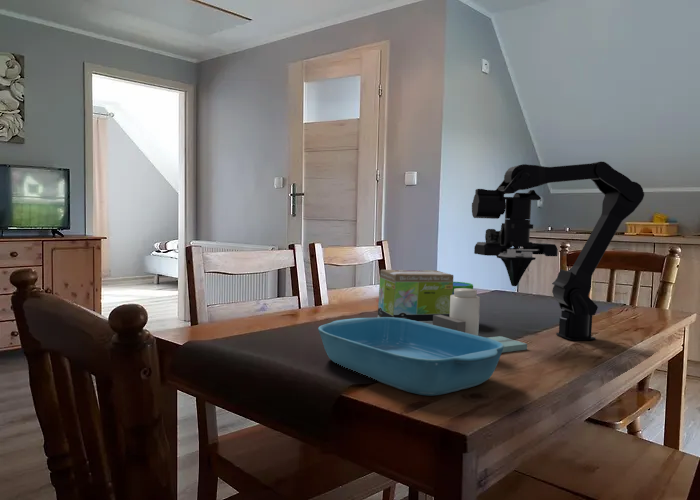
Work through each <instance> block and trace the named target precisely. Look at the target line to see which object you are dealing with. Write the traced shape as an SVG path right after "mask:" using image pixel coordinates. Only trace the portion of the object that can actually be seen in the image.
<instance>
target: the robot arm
mask: <svg viewBox="0 0 700 500" xmlns="http://www.w3.org/2000/svg"><path fill="white" fill-rule="evenodd" d="M503 176H504V177H503V180H502V182H501V183H500V184H499V186H497V188H496V189H486V188H475V194H474V196H473V200H472V202H471V215H472V218H474V219H493V220H498V219H500V218H501V215H503V216H504V223H503V222H502V223H501V225H500V230H496V229H495V228H487V229H486V230H485V234H484V235H485V236H484V238H485V239H484V240H485V241H477V242H476V243H475V245H474V250H473V251H474V252H473V254H475V255H479V256H492V257H495V256H496V258H497V259H500V261H502V263H503V265H504V266H505V269H506V271H507V274H508V275H507V276H508V278H509V281H510V285H511V286H512V287H517V286H518V284H519V283H520V281H521V279H522V277H523V275H524V273H525V272H526V270H527V269H528V267H529V266H530V264H531V263H532V261H536V256H535V257H533V255H544V256H545V257H559V256H558V254H559V253H558V252H559V249H558V247H557V245H556V244H554V243H545V242H544V243H543V242H538V243H537V242H532V241H530V237H531V236H530V234H531V233H530V232H531V230H533V229H534V224H532V223H531V215H532V214H531V213H532V201H541V200H542V197H541V196H540V195H539V194H538V193H537V192H536V190H535V189H532V188H536V187H541V186H543V185H546V184H552V183H562V182H572V181H573V182H574V181H585V180H586V181H587V180H591V181H592V182H593V184H594V185H595V186H596V188H597V189H598V190H599V192H601V194H603V195H604V197H603V200H602V204H601V205H602V206H601V207H602V208H601V215H600V216H599V219H598V220H597V222H596V223H595V226H594V227H593V229H592V231H591V233H590V234H589V237H588V238H587V240H586V242H585V243H584V245H583V248H582V249H581V250H580V253H579V255H578V256H577V258H576V259H575V261H574V264H573V265H572V266H571V267H570V268H568V269H567V270H564V269H559V272H558V274H557V278H556V279H555V280H554V281H553V282H552V285H553V287H552V295H553V297H554V299H555V301H556V302H557V303H558V305H559V309H561V312H560V314H561V315H560V317H559V323H558V324H559V325H558V332H555V335H557V336H559V337H562V338H564V339H567V340H570V341H594V340H595V341H596V337H594V336H592V331H593V329H592V328H593V316H595V315H596V314H597V311H598V309H599V306H598V305H597V304H596V302H594V301H593V300H592V299H591V297H590V296H589V295H590V293H591V289H592V283H593V282H592V280H593V275H594V272H595V271H596V268H598V265H599V264H600V261H601V260H602V258H603V256H604V254H605V253H606V251H607V250H608V248H609V245H610V244H611V242H612V240H613V238H614V236H615V235H616V233H617V231H618V230H619V227H620V225H621V224H622V222H623V221H624V220H625V219H626V218H628V217H629V216H630V215H631V214H632V213H634V212H635V210H636V209H637V208H638V207H639V206H640V205H641V203H642V202H643V200H644V197H645V192H644V188H643V187H642V186H641V184H639V183H638V182H637V181H632V180H631V179H630V178H629V177H628V176H626V175H625V174H623V173H621V172H619V171H618V170H616V169H615V168H613V167H612V166H611V165H610V164H609V163H607V162H606V161H597V162H591V163H582V164H581V163H580V164H571V165H560V166H559V165H558V166H543V165H537V164H536V165H535V164H526V163H525V164H520V165H519V164H518V165H514V166H511V167H509V168H507V170H506V171H505V173H504V175H503ZM529 189H530V190H529ZM524 190H528V192H518V191H524ZM509 194H514V195H513V196H505V195H509Z"/></svg>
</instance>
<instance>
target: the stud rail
mask: <svg viewBox="0 0 700 500" xmlns="http://www.w3.org/2000/svg"><path fill="white" fill-rule="evenodd" d="M433 325H436V326H440V327H444V328H448V329H452V330H456V331H461V332H465V326H466V322H465V321H462V320H458V319H454V318H451V317H447V316H444V315H433ZM487 338H489V339H493V340H496V341H498V342H500V343H502V344H503V345H504V348H503V351H502V353H509V352H519V351H525V350H528V343H525V342H523V341H518V340H514V339H512V338H508V337H505V336H502V335H499V336H490V337H487ZM502 353H501V354H502Z"/></svg>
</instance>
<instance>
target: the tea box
mask: <svg viewBox="0 0 700 500" xmlns="http://www.w3.org/2000/svg"><path fill="white" fill-rule="evenodd" d="M453 282H454V274H450V273H447V272H443V271H439V270H433V269H432V270H431V269H430V270H429V269H428V270H426V269H423V270H422V269H380V272H379V286H378V287H379V288H378V289H379V290H378V305H377V308H378V309H377V317H394V318H403V319H409V320H414V321H419V322H423V323H428V324H432V325H433V315H444V316H447V317H450V295H452V294H453Z"/></svg>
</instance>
